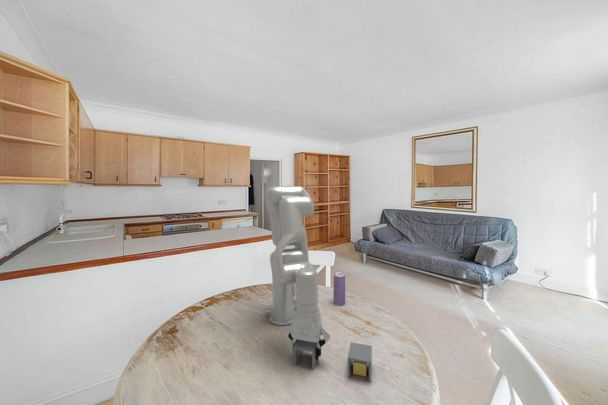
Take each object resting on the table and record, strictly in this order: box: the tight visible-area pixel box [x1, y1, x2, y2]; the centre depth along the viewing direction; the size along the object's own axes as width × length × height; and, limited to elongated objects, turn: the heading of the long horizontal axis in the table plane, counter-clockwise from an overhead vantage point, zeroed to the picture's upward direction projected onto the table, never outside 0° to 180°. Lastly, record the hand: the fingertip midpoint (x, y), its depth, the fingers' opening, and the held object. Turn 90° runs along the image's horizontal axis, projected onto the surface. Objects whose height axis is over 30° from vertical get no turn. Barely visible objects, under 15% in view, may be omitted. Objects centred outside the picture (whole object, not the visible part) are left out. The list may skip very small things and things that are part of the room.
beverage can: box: [332, 272, 346, 306], centre depth 127 cm, size 6×6×15 cm
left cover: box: [292, 340, 318, 371], centre depth 86 cm, size 7×8×6 cm
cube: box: [352, 360, 368, 377], centre depth 80 cm, size 4×4×4 cm
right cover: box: [347, 341, 373, 383], centre depth 80 cm, size 7×8×6 cm
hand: (307, 354), depth 86 cm, fingers closed on left cover, 7 cm apart
